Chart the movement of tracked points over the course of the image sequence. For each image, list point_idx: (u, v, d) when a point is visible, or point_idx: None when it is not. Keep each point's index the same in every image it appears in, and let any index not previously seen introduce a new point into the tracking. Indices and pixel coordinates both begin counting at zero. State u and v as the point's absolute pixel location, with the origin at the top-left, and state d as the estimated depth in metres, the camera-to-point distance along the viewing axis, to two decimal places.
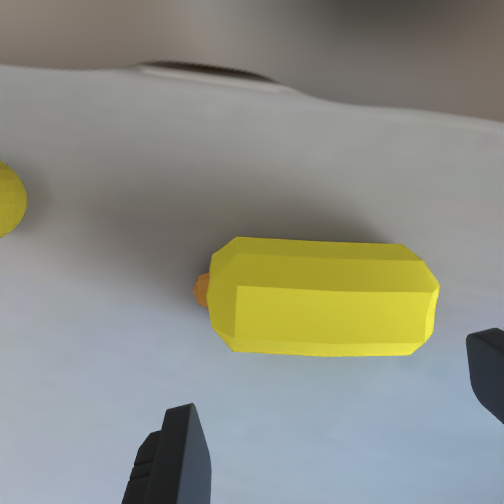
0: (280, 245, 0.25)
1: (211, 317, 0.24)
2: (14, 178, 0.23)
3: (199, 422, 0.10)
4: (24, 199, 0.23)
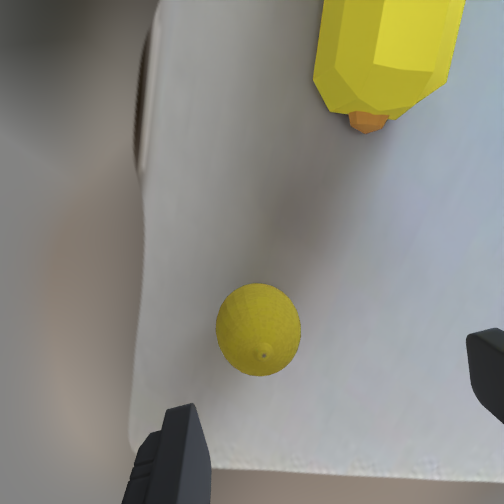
0: (329, 21, 0.22)
1: (402, 105, 0.22)
2: (242, 287, 0.25)
3: (199, 422, 0.10)
4: (261, 283, 0.25)
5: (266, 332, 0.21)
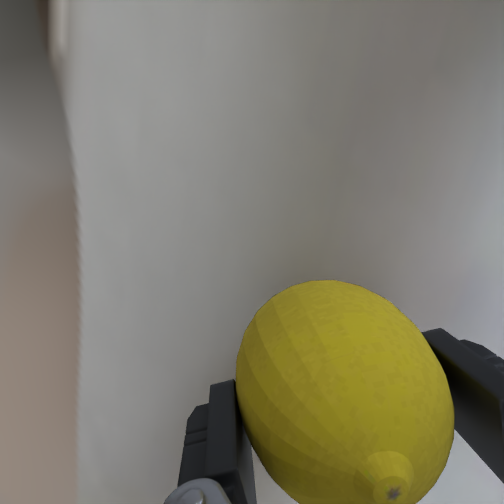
0: None
1: None
2: (291, 292, 0.11)
3: None
4: (330, 280, 0.11)
5: (390, 418, 0.07)
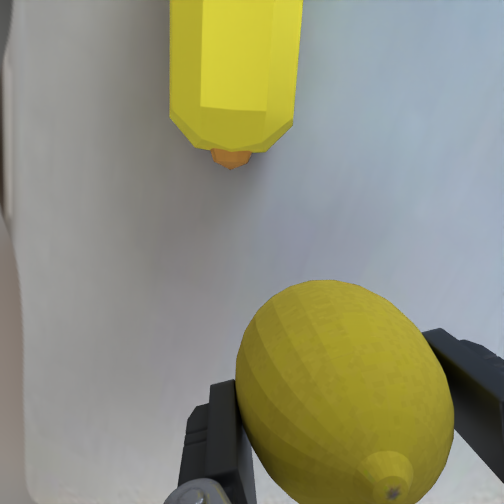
0: (170, 59, 0.21)
1: (250, 143, 0.21)
2: (291, 291, 0.11)
3: None
4: (330, 280, 0.11)
5: (389, 418, 0.07)
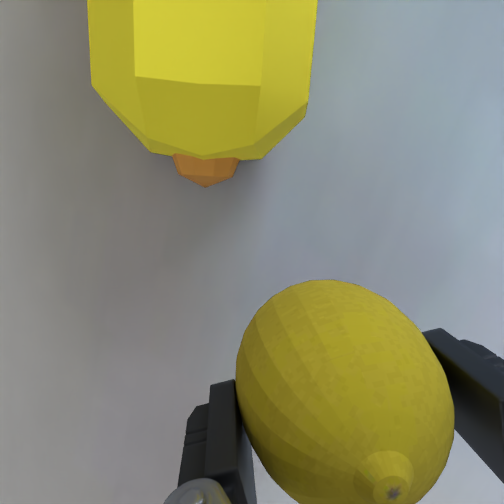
0: None
1: (234, 145, 0.12)
2: (291, 291, 0.11)
3: None
4: (330, 280, 0.11)
5: (390, 418, 0.07)
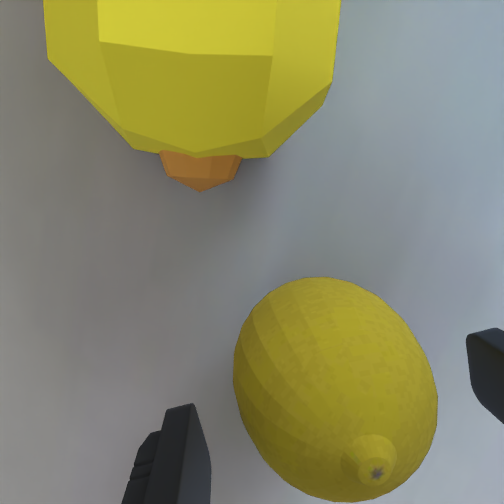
0: None
1: (236, 139, 0.09)
2: (286, 288, 0.11)
3: (199, 422, 0.10)
4: (324, 277, 0.12)
5: (375, 404, 0.08)
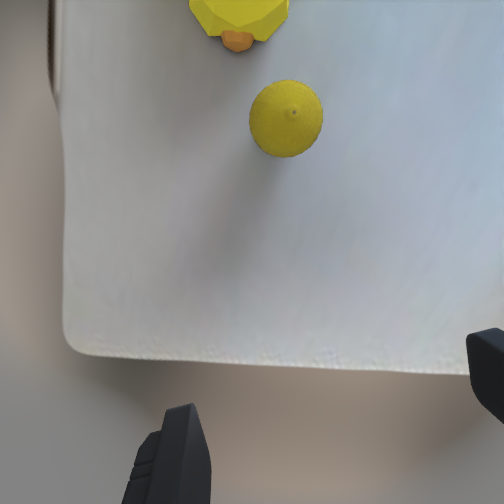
0: None
1: (253, 20, 0.27)
2: None
3: (199, 422, 0.10)
4: None
5: (295, 96, 0.25)
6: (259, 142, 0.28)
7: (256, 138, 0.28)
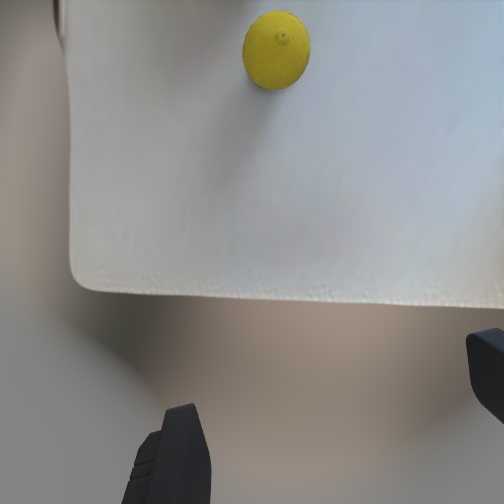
0: None
1: None
2: None
3: (199, 422, 0.10)
4: None
5: (284, 21, 0.28)
6: (252, 72, 0.30)
7: (249, 68, 0.30)
